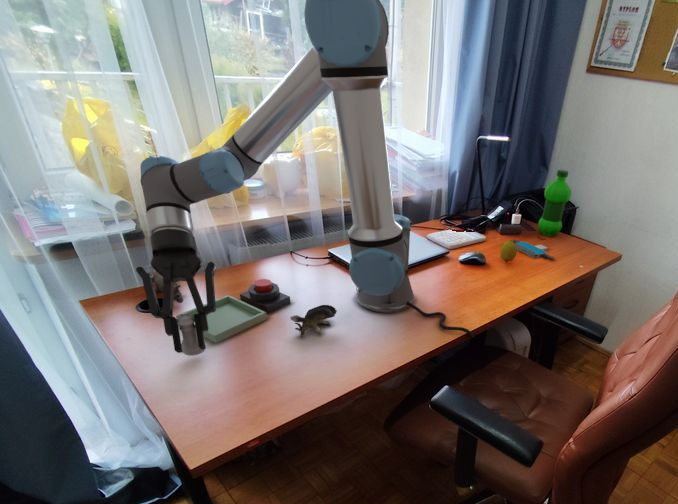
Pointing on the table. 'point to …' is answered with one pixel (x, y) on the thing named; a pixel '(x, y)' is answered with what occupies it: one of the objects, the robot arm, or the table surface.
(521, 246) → the blue usb hub
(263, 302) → the control box
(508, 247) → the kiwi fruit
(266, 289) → the button
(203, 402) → the table surface
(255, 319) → the green tray
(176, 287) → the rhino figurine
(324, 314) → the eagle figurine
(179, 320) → the rook chess piece
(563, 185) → the plastic bottle
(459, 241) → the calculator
